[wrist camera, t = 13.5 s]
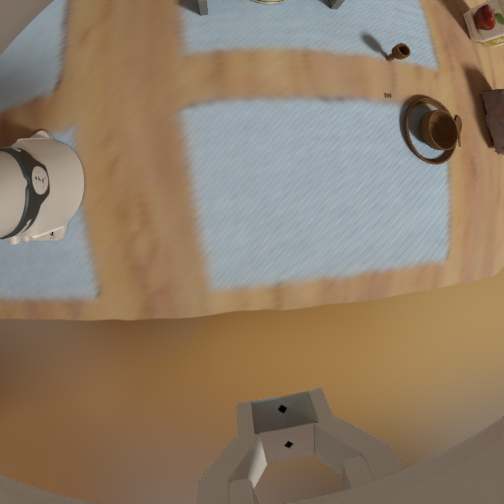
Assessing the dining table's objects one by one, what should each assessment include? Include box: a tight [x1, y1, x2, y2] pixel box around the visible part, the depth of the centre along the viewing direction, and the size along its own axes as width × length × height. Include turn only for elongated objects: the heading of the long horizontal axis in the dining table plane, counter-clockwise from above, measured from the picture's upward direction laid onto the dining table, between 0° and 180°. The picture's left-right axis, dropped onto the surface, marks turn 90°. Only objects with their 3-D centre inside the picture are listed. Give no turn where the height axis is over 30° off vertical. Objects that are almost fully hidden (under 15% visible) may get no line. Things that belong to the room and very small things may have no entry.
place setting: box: [385, 43, 462, 164], centre depth 40 cm, size 18×20×6 cm
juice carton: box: [463, 0, 504, 47], centre depth 28 cm, size 8×9×19 cm
